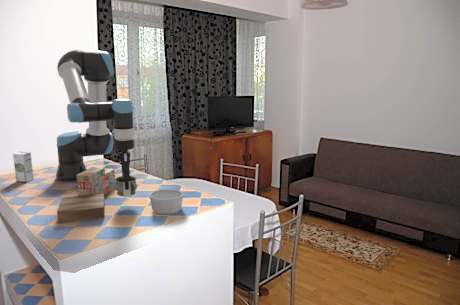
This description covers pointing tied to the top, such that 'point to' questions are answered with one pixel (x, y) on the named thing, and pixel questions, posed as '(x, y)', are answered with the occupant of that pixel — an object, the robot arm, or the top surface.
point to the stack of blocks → (95, 181)
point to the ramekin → (166, 201)
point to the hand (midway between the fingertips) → (126, 192)
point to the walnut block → (81, 208)
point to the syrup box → (23, 166)
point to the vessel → (120, 185)
